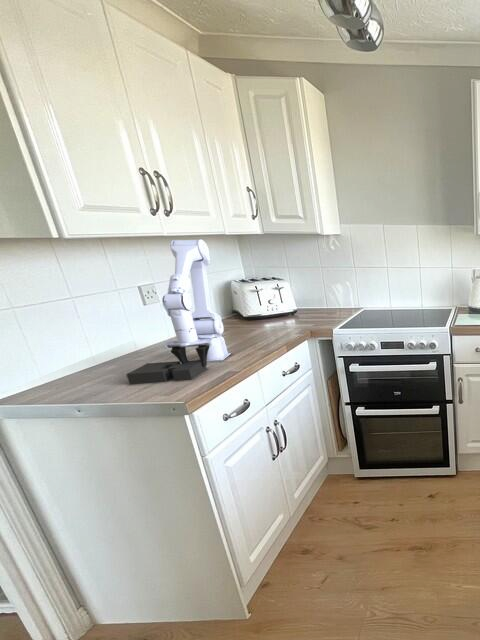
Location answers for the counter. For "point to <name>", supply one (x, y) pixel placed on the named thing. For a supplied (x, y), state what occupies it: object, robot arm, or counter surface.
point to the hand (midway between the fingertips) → (195, 366)
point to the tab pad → (186, 370)
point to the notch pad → (151, 373)
